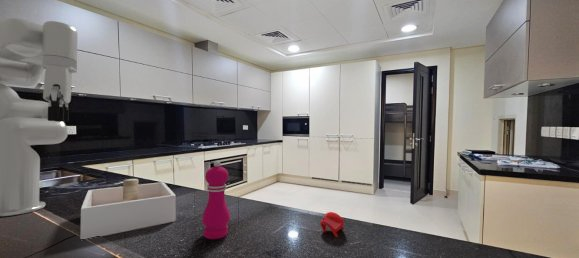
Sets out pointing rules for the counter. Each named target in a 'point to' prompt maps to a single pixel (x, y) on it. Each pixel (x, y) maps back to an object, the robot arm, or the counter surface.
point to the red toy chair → (332, 222)
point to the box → (126, 210)
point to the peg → (130, 190)
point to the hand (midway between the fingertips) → (58, 121)
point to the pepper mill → (216, 203)
